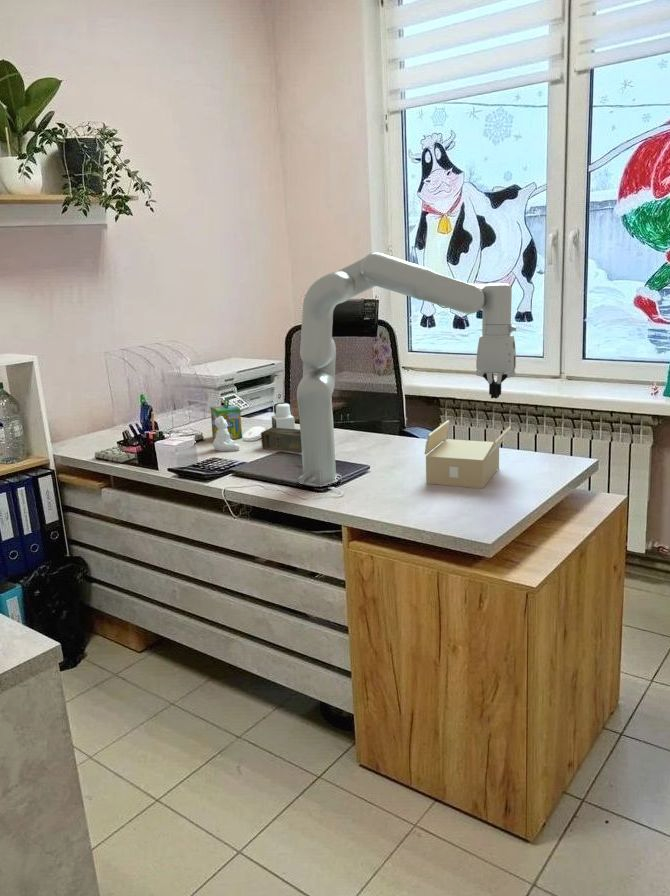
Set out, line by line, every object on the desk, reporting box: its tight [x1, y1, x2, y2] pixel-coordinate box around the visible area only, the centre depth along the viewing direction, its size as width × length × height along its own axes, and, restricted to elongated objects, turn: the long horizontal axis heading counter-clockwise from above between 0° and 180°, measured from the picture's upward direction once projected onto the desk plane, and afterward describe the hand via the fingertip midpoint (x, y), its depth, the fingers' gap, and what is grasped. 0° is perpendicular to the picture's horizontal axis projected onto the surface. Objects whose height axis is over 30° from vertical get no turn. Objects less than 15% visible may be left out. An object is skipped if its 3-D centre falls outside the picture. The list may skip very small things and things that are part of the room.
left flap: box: [424, 419, 450, 456], centre depth 210 cm, size 19×6×1 cm
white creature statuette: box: [212, 416, 240, 452], centre depth 251 cm, size 10×9×12 cm
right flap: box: [484, 425, 512, 460], centre depth 202 cm, size 19×6×1 cm
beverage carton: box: [260, 426, 302, 453], centre depth 249 cm, size 8×19×7 cm, turn 66°
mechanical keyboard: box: [94, 429, 206, 464], centre depth 258 cm, size 38×19×3 cm, turn 146°
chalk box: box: [210, 397, 243, 440], centre depth 268 cm, size 9×9×15 cm
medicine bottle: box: [271, 402, 296, 429], centre depth 268 cm, size 7×7×12 cm
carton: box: [425, 438, 500, 489], centre depth 208 cm, size 20×16×8 cm
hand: (495, 397), depth 199 cm, fingers closed
